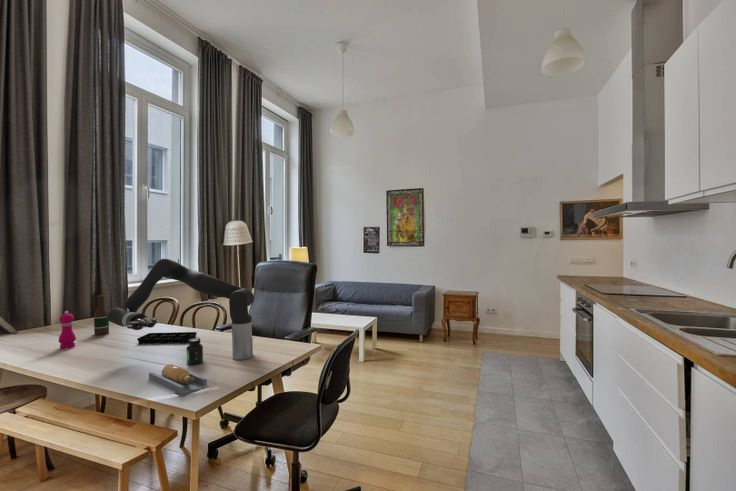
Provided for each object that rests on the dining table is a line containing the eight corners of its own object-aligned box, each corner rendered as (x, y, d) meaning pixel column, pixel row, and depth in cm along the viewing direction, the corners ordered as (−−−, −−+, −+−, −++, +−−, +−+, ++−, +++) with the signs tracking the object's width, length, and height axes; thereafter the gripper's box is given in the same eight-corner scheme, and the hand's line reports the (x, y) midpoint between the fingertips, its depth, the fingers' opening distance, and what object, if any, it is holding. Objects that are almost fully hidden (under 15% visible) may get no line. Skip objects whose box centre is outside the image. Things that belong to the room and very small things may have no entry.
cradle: (149, 381, 146) (148, 372, 146) (173, 373, 155) (173, 365, 154) (181, 396, 131) (181, 387, 131) (207, 387, 140) (206, 378, 139)
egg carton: (192, 343, 199) (192, 337, 199) (132, 348, 192) (132, 341, 192) (199, 335, 216) (199, 329, 216) (144, 339, 209) (144, 333, 209)
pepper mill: (78, 346, 196) (77, 310, 195) (63, 350, 189) (62, 312, 189) (71, 344, 199) (70, 309, 198) (55, 348, 192) (54, 311, 192)
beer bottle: (97, 336, 216) (96, 296, 215) (91, 334, 220) (90, 295, 219) (111, 333, 222) (110, 295, 222) (106, 331, 226) (105, 294, 226)
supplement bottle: (186, 368, 160) (185, 342, 160) (187, 363, 166) (186, 338, 166) (203, 366, 163) (202, 340, 163) (203, 361, 169) (202, 336, 169)
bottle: (178, 366, 150) (201, 375, 140) (170, 379, 148) (193, 390, 137) (166, 362, 146) (189, 371, 136) (158, 376, 144) (181, 386, 134)
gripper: (117, 315, 159) (134, 319, 149) (149, 310, 170) (167, 313, 160) (118, 332, 159) (135, 337, 149) (150, 325, 170) (168, 330, 160)
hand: (152, 325), depth 154 cm, fingers closed
